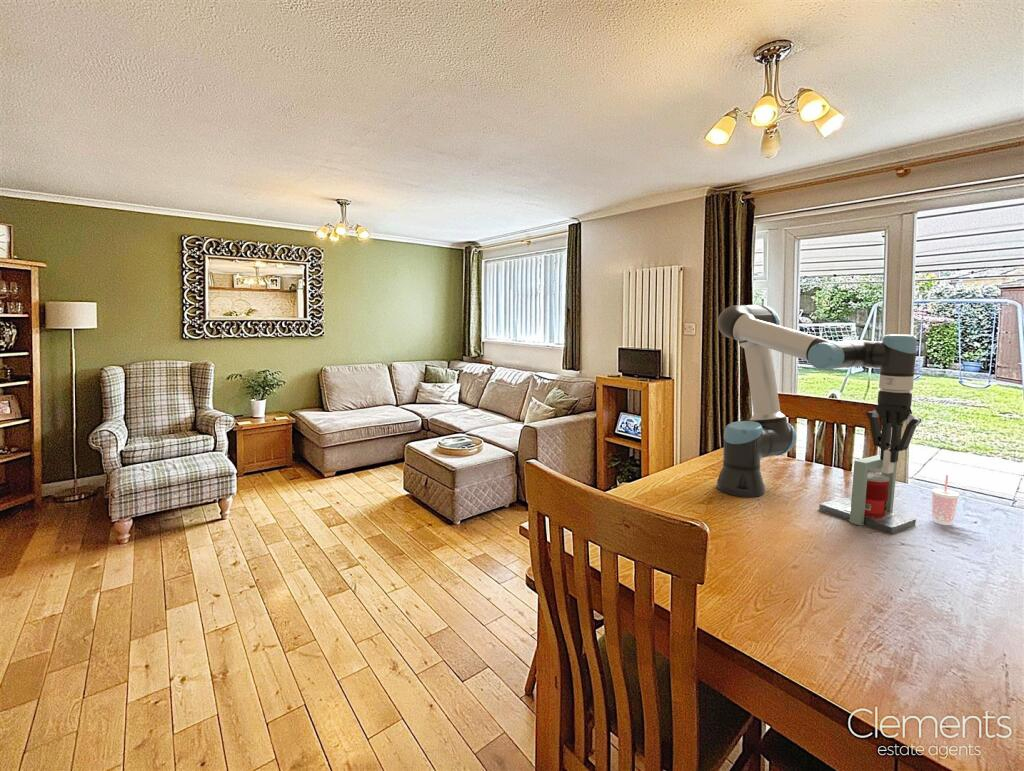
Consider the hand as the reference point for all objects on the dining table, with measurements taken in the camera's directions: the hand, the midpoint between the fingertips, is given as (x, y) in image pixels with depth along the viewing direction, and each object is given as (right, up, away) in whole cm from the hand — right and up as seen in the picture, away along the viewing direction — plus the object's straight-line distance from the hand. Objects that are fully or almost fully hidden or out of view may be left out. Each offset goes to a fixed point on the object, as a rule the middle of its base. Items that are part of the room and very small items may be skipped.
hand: (887, 472), depth 142 cm
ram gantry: (-1, -14, +5) cm, 15 cm away
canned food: (-1, -13, +5) cm, 14 cm away
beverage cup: (+18, -15, +3) cm, 23 cm away
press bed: (-2, -15, +6) cm, 16 cm away
